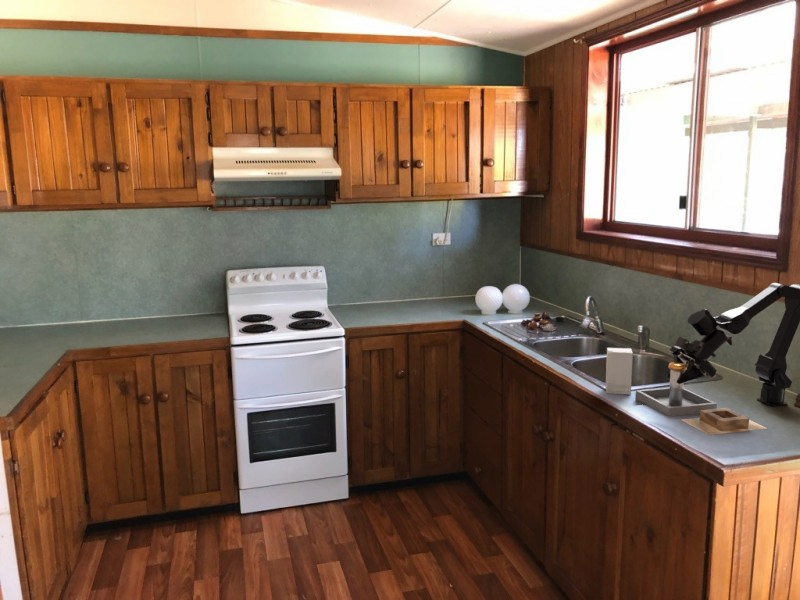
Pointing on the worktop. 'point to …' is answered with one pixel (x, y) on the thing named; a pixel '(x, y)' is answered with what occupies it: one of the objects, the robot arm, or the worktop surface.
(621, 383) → the skincare box
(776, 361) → the robot arm
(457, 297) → the worktop surface
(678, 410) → the tray
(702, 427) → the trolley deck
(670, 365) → the pin
